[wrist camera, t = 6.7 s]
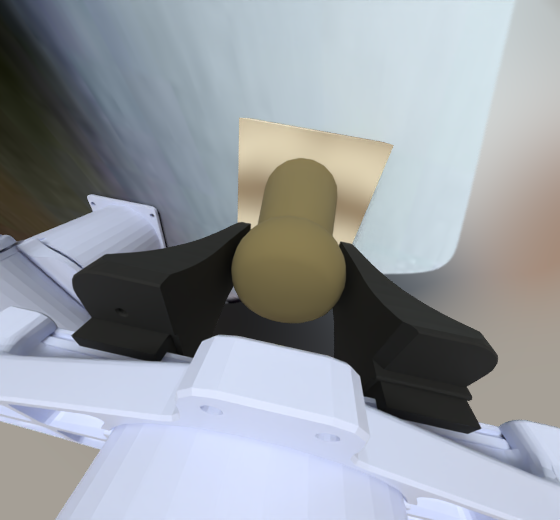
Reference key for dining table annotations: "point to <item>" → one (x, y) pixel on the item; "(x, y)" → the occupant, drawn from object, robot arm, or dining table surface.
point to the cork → (292, 247)
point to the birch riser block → (317, 146)
